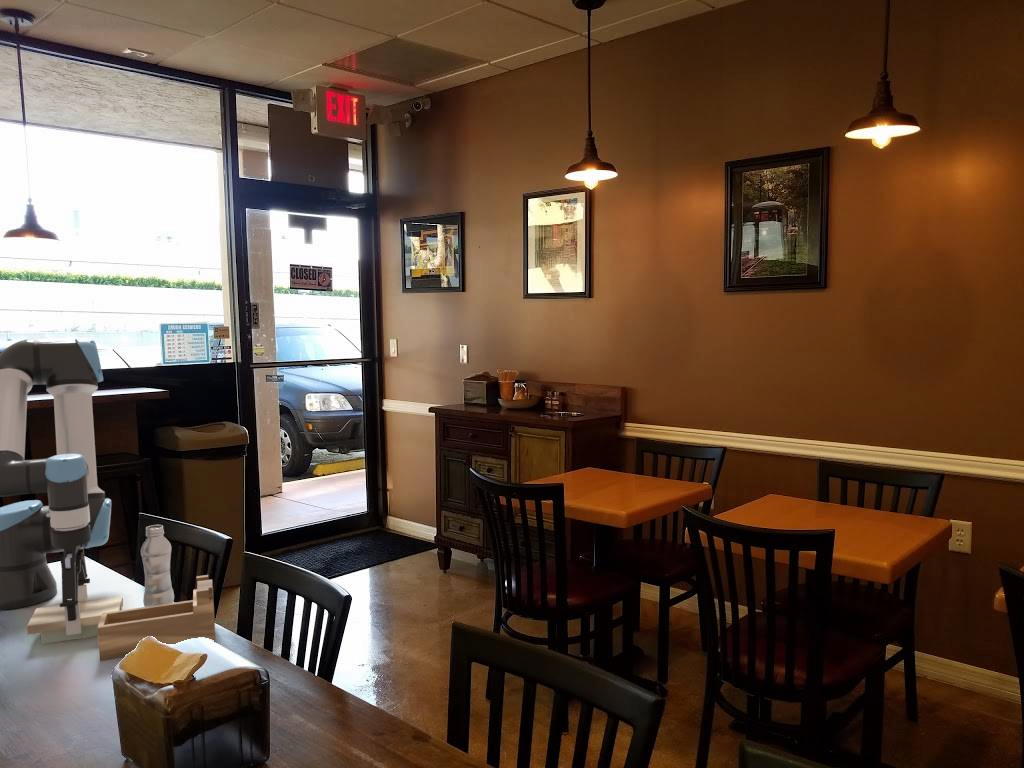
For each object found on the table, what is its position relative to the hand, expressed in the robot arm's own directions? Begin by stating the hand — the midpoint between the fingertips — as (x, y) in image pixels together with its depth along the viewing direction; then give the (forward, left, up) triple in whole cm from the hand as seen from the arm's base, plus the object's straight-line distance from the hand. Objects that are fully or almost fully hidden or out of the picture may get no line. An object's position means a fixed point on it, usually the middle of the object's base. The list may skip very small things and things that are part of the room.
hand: (77, 623), depth 171 cm
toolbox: (+13, +17, -2) cm, 22 cm away
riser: (0, 0, -2) cm, 2 cm away
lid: (0, 0, +1) cm, 1 cm away
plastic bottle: (-7, +16, -2) cm, 18 cm away
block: (+13, +27, +7) cm, 30 cm away
